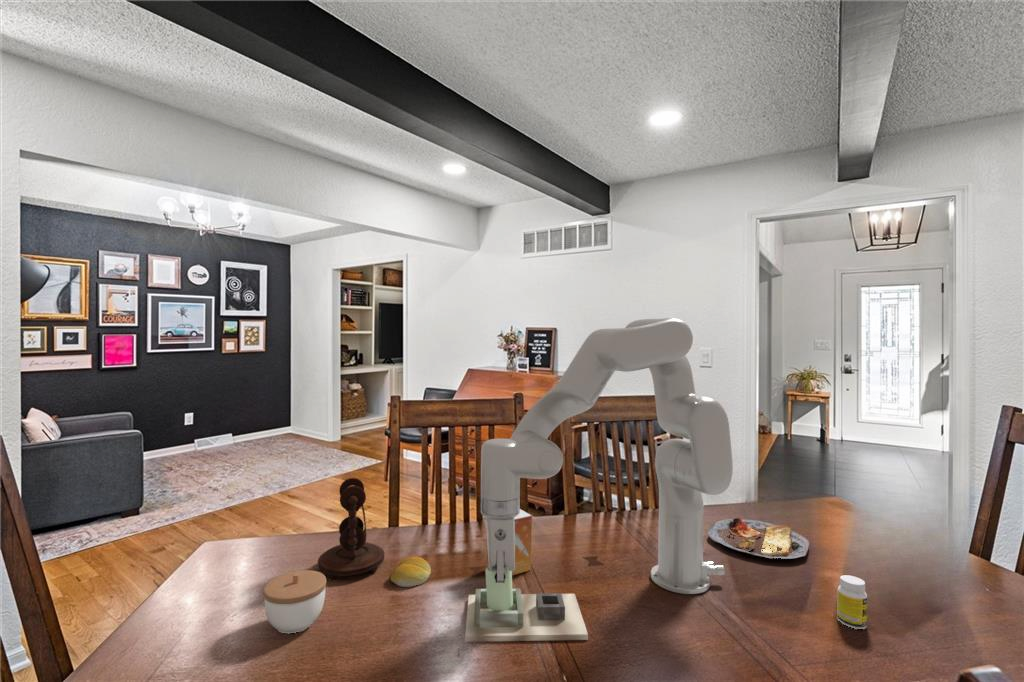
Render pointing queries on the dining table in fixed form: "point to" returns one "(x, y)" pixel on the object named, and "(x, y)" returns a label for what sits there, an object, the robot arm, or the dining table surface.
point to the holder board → (525, 618)
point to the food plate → (773, 537)
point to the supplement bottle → (852, 602)
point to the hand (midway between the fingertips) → (499, 599)
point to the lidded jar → (294, 600)
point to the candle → (499, 591)
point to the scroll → (351, 538)
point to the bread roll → (411, 572)
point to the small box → (522, 542)
